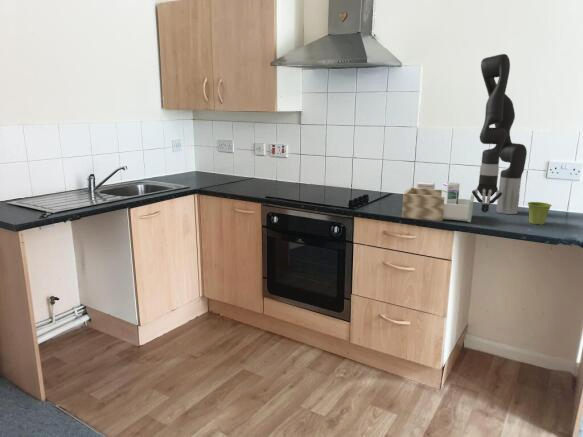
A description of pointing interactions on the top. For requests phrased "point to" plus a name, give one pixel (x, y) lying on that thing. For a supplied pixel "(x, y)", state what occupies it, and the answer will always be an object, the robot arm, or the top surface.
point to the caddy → (423, 204)
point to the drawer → (459, 210)
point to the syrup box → (450, 192)
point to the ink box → (426, 185)
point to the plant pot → (538, 212)
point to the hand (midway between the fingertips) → (484, 212)
